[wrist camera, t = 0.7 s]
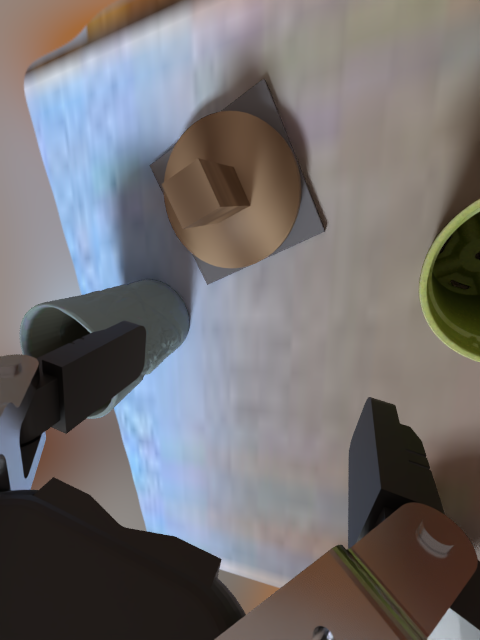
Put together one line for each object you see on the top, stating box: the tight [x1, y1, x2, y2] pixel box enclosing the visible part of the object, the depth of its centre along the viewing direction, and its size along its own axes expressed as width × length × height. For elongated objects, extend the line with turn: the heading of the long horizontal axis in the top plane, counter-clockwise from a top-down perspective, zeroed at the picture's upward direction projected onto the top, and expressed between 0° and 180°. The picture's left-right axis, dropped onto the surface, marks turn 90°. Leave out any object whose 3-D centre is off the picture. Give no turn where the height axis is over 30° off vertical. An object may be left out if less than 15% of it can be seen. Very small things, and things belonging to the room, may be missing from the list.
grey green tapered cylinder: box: [20, 280, 189, 418], centre depth 30 cm, size 10×10×12 cm
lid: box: [162, 111, 301, 268], centre depth 24 cm, size 12×12×7 cm
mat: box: [150, 79, 325, 285], centre depth 27 cm, size 12×12×1 cm
